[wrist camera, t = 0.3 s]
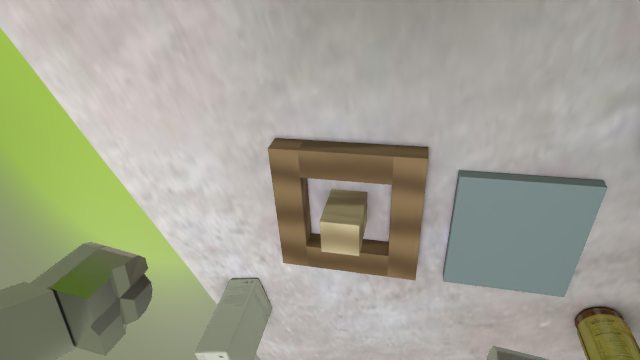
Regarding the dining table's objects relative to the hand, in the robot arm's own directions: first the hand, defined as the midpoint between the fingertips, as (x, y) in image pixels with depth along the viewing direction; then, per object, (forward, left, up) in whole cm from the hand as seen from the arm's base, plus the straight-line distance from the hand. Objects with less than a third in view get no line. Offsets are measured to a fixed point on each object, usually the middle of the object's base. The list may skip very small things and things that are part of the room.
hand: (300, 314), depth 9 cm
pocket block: (+26, -6, -40) cm, 48 cm away
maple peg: (+26, -6, -40) cm, 48 cm away
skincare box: (+48, -24, -40) cm, 67 cm away
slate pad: (+28, +16, -40) cm, 51 cm away
